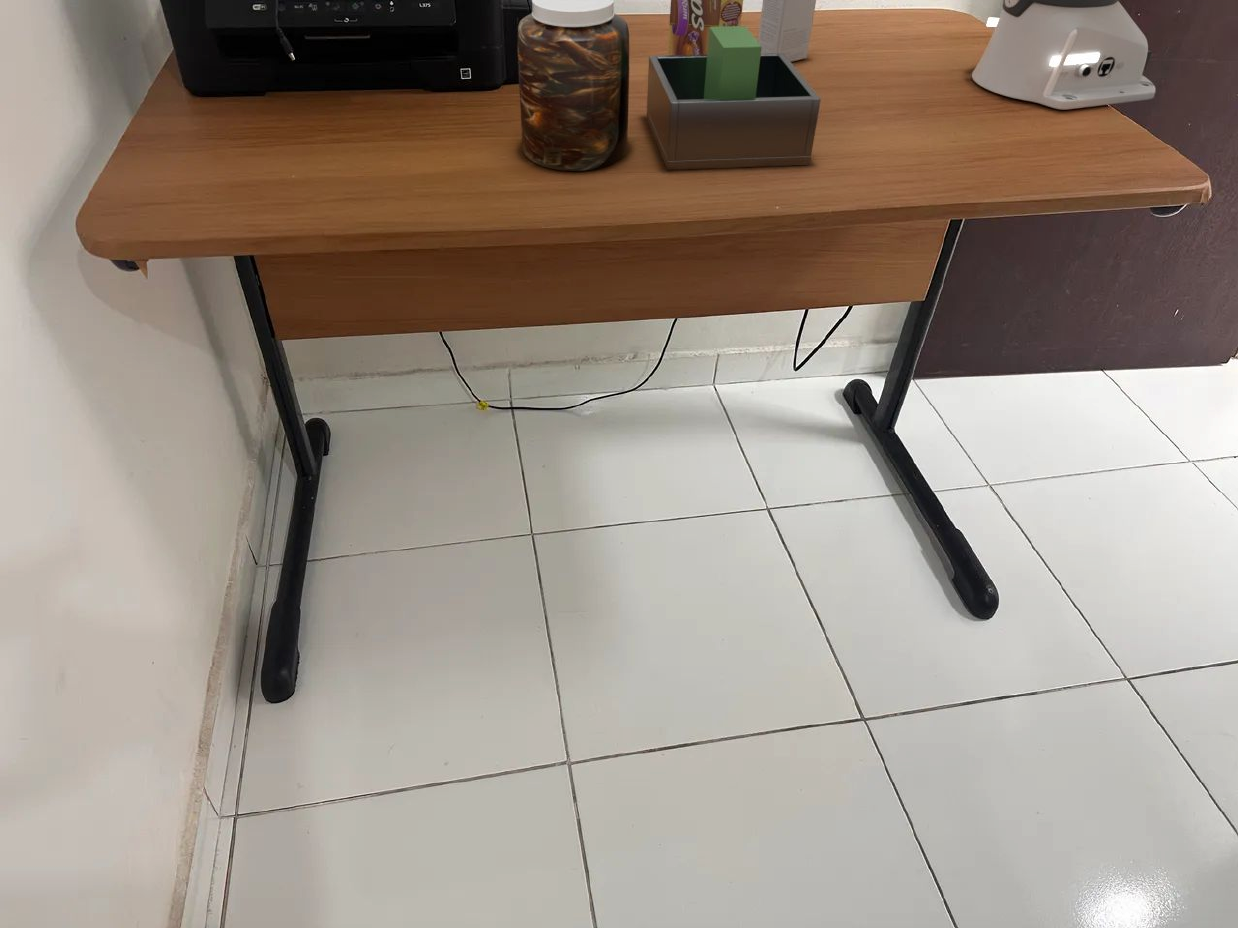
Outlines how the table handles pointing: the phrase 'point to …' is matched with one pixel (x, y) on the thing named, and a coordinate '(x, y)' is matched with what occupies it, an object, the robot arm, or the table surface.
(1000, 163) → the table surface
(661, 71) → the open box
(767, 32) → the cosmetic box
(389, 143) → the table surface
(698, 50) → the candy box
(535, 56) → the jar
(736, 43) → the block
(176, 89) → the table surface
